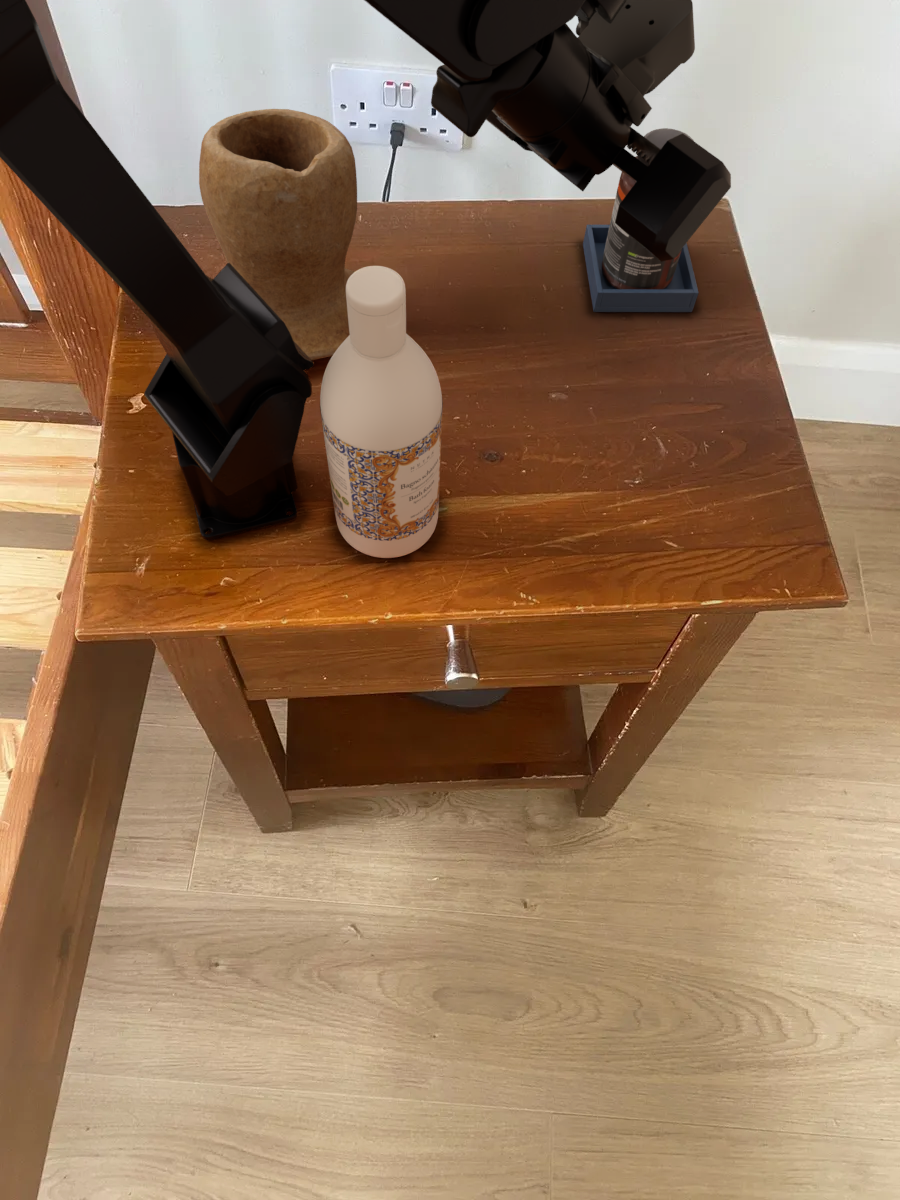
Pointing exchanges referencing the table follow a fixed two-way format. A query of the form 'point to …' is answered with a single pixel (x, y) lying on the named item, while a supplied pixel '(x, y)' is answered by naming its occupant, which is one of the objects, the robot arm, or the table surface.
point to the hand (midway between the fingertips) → (639, 188)
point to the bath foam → (382, 423)
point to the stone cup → (285, 216)
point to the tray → (611, 299)
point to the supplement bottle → (622, 253)
